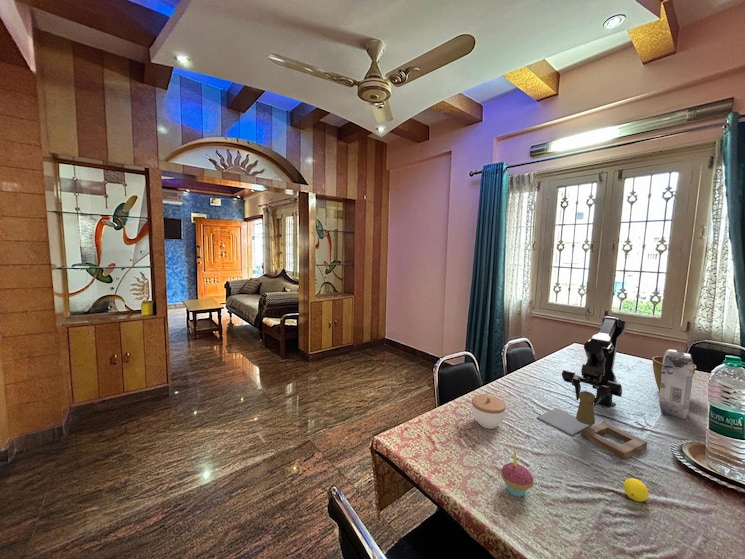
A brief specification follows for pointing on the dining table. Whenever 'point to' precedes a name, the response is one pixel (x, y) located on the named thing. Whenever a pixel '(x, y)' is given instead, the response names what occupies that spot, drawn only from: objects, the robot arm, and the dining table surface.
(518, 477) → the cupcake
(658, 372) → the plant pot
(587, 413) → the cork
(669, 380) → the juice carton
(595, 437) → the socket block
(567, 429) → the grey mat
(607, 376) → the robot arm
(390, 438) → the dining table surface
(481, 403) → the lidded bowl
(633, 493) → the lemon
